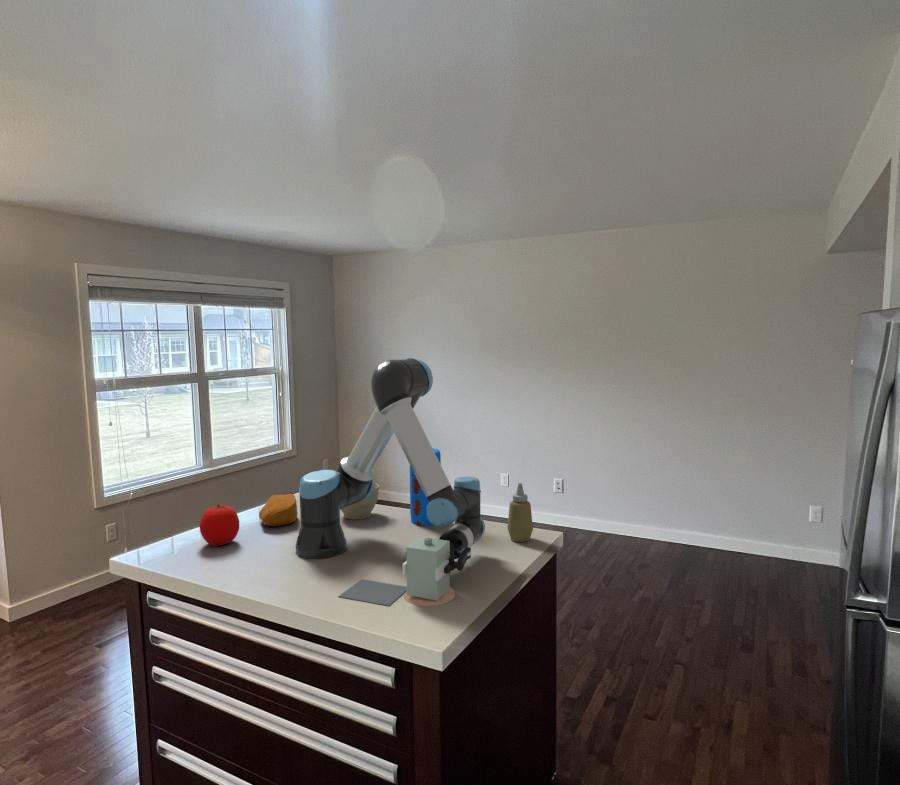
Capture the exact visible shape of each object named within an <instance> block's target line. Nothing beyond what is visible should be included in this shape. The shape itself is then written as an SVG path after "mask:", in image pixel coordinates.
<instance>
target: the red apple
mask: <svg viewBox="0 0 900 785" xmlns="http://www.w3.org/2000/svg"><path fill="white" fill-rule="evenodd" d="M239 531H240V518H239V516H238V513H237V511H236V510H235V508H233V507H231V506H229V505H227V504H226V505H225V504H219V503H218V504H215V505H213V506H210V507H207V509H206V510H205V511H204V512H203V513H202V516H201V518H200V521H199V532H200V534H201V537H202V538H203V540H204V541H205V542H206V543H207V544H208V545H211V546H215V547H218V546H223V545H226V544H229V543H231V542H233V541H234V539H236V537H237V536H238V534H239Z"/></svg>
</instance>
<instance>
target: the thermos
mask: <svg viewBox="0 0 900 785" xmlns="http://www.w3.org/2000/svg"><path fill="white" fill-rule="evenodd" d="M433 450H434V452H435V455H436V457H437V459H438V461H439V463H440V465H441V466H442V464H441V463H442V462H441V461H442V460H441V459H442V457H441V451H440V449H438V448H433ZM409 500H410V501H409V509H410V510H409V511H410V522H411V524H413V525H415V524H416V525H415V526H420V525H430V526H435V525H434V524H432V523H431V522H430V521H429V519H428V517H427V510H426V509H427V506H428V504H429V502H428V500H427V498H426V496H425V494H424V492H423V490H422V488H421V486H420V484H419V482H418V480H417V478H416V476H415V474H414V472H413V470H412V468H411V466H410V465H409Z"/></svg>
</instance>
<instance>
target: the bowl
mask: <svg viewBox="0 0 900 785" xmlns="http://www.w3.org/2000/svg"><path fill="white" fill-rule="evenodd" d="M455 597H456V591H455V589H453V587H450V588H449V589H448V590H447V591H446V592H445V593H444V594H443V595H442V596H441V597H440V598H439V599H438V600H437V601H436V600H431V599H425V598H420V597H414V596H409V595H407V591H406V592H405V593H403V594H402V598H403V600H404V601H406V602H407V603H410V604H412V605H414V606H415V605H416V606H419V607H420V606H421V607H430V606H432V607H433V606H434V607H435V606H440V605H443V604H446V603H448V602H451V601H452V600H453V599H454V598H455Z"/></svg>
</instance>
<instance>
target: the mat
mask: <svg viewBox="0 0 900 785" xmlns="http://www.w3.org/2000/svg"><path fill="white" fill-rule="evenodd" d="M406 591H407V585H406V586H405V585H398V584H394V583H386V582H381V581H375V580H370V579H369V580H368V579H364V578H362V579H360V580H358V581H356V583H355V584H352V585H351V587H349V588H347V589H346V590H345V591H343V592H342V593H340V595H338V596H337V597H338V598H342V599H347V600H350V601H359V602H363V603H369V604H373V605H374V604H375V605H378V606H379V605H380V606H384V607H390V606H391V605H393V604H394V603H395V602H396V601H397V600H398V599H399V598H400V597H401V596H403V593H405V592H406Z"/></svg>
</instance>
